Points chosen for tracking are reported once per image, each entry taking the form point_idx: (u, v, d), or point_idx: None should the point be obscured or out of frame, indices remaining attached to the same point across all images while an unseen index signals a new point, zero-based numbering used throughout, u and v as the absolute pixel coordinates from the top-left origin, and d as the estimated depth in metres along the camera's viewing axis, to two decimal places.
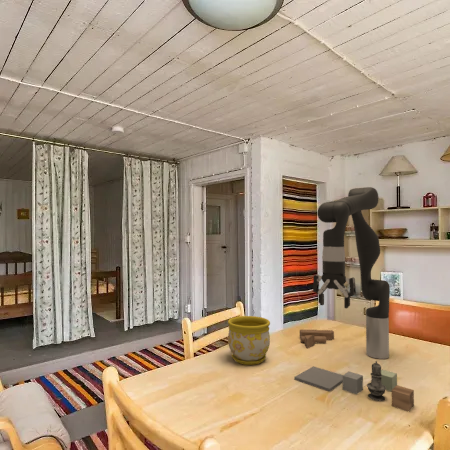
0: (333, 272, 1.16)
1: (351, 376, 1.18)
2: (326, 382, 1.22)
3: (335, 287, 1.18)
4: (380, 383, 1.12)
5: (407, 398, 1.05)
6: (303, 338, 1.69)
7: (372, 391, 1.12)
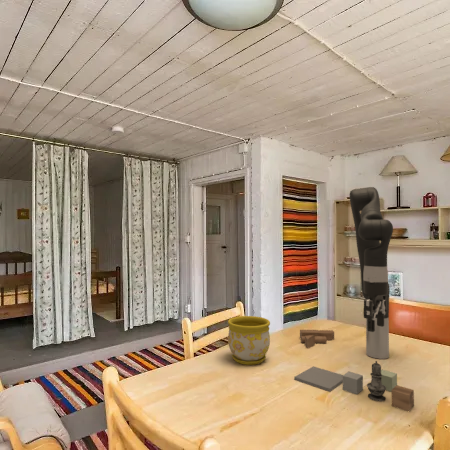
0: (388, 292, 1.13)
1: (351, 376, 1.18)
2: (326, 382, 1.22)
3: (380, 308, 1.14)
4: (380, 383, 1.12)
5: (407, 398, 1.05)
6: (303, 338, 1.69)
7: (372, 391, 1.12)
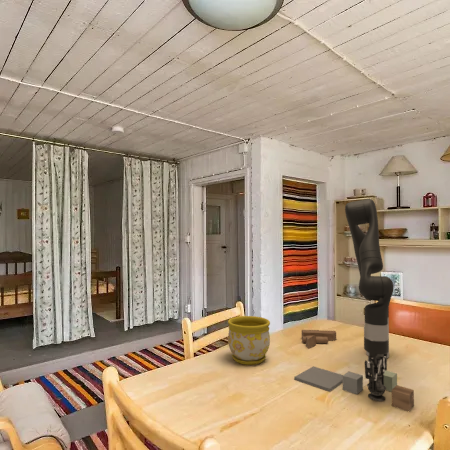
0: (388, 350, 1.12)
1: (351, 376, 1.18)
2: (326, 382, 1.22)
3: None
4: (380, 383, 1.12)
5: (407, 398, 1.05)
6: (304, 338, 1.68)
7: None
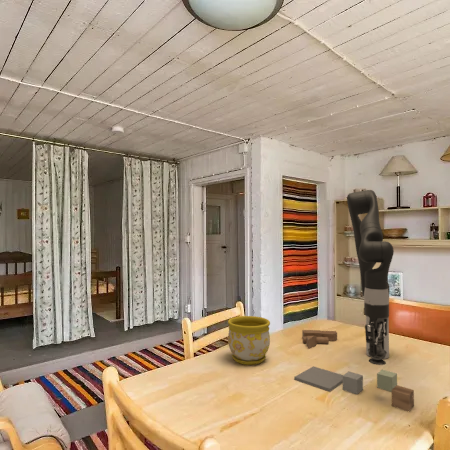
0: None
1: (351, 376, 1.18)
2: (326, 382, 1.22)
3: (381, 330, 1.14)
4: (380, 347, 1.13)
5: (407, 398, 1.05)
6: (305, 338, 1.68)
7: None
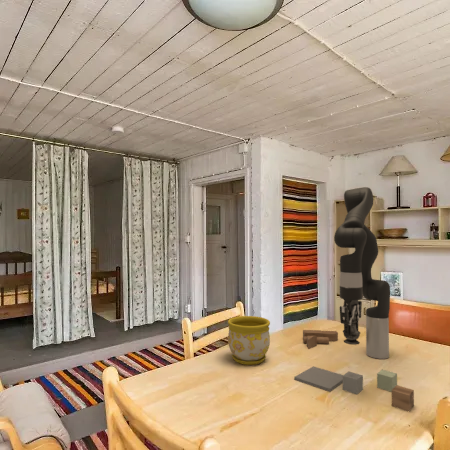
0: (362, 297, 1.19)
1: (351, 376, 1.18)
2: (326, 382, 1.22)
3: (355, 312, 1.20)
4: (355, 328, 1.19)
5: (407, 398, 1.05)
6: (305, 338, 1.68)
7: (347, 336, 1.18)
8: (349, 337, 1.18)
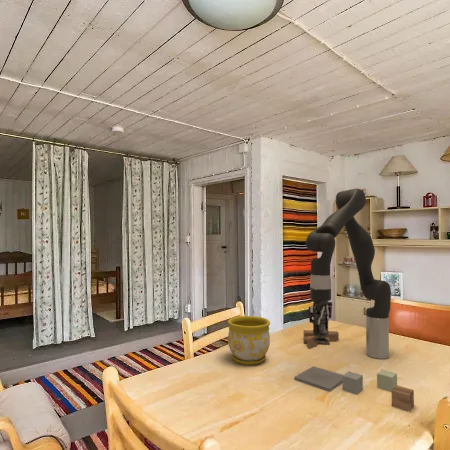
0: None
1: (351, 376, 1.18)
2: (326, 382, 1.22)
3: None
4: (323, 327, 1.27)
5: (407, 398, 1.05)
6: (306, 339, 1.68)
7: None
8: (318, 336, 1.26)
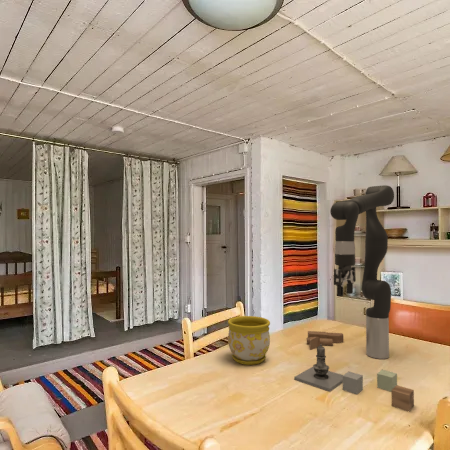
0: None
1: (351, 376, 1.18)
2: (326, 382, 1.22)
3: (348, 277, 1.34)
4: (324, 363, 1.26)
5: (407, 398, 1.05)
6: (308, 340, 1.67)
7: (316, 370, 1.26)
8: (318, 372, 1.26)
